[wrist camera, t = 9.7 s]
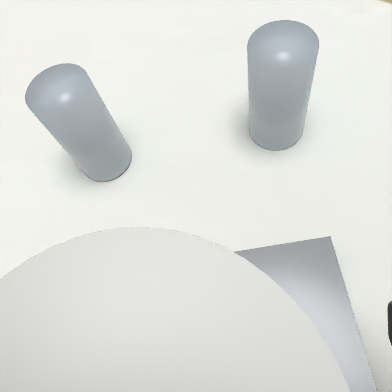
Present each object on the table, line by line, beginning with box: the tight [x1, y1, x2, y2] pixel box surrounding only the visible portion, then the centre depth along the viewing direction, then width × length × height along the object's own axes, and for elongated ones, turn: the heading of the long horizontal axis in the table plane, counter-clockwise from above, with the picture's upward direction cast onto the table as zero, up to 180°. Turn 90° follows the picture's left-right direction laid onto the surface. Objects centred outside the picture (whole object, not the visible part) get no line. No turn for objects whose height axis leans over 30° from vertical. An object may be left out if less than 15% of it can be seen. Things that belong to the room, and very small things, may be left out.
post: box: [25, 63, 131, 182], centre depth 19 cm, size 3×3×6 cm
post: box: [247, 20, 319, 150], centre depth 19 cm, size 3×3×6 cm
